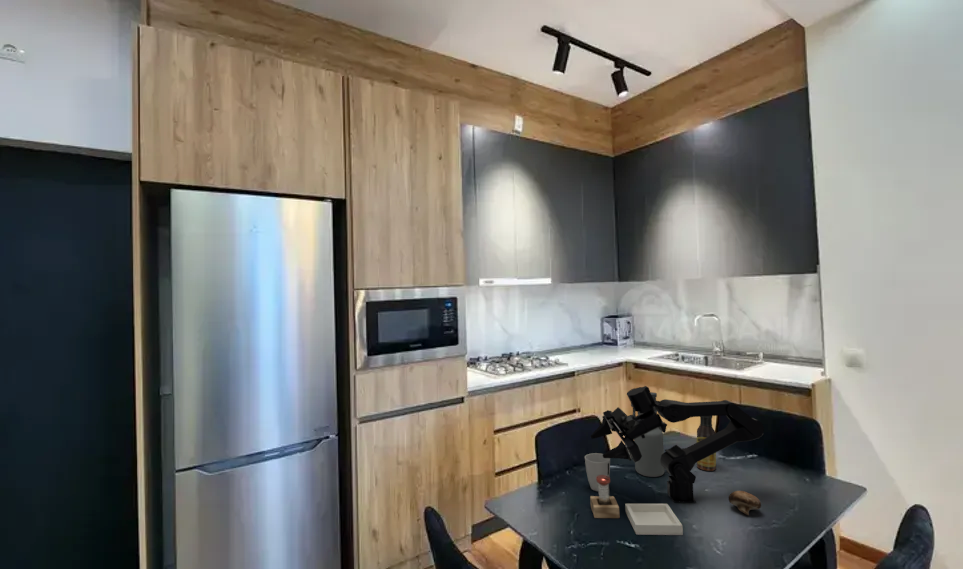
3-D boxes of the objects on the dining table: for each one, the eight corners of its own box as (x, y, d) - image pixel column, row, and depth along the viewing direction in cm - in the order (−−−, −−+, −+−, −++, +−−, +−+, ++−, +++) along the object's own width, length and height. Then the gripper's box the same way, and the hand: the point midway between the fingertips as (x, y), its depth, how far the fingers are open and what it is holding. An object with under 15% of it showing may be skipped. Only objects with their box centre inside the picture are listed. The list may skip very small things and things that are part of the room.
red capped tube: (610, 508, 132) (608, 475, 132) (613, 515, 128) (611, 480, 128) (596, 508, 132) (595, 475, 132) (599, 515, 128) (597, 480, 128)
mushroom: (747, 510, 121) (746, 487, 125) (722, 510, 128) (721, 488, 131) (768, 520, 123) (766, 496, 126) (742, 519, 130) (741, 497, 133)
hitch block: (614, 506, 133) (613, 496, 133) (619, 518, 126) (619, 507, 126) (590, 506, 134) (590, 496, 134) (594, 517, 127) (594, 507, 127)
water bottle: (633, 475, 154) (629, 395, 155) (635, 465, 163) (631, 389, 164) (664, 479, 150) (661, 397, 151) (664, 468, 159) (661, 390, 160)
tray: (667, 512, 128) (667, 503, 128) (682, 535, 116) (682, 525, 116) (625, 512, 129) (625, 503, 129) (636, 534, 117) (635, 525, 117)
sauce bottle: (695, 470, 157) (693, 414, 158) (697, 463, 162) (695, 409, 163) (716, 473, 154) (713, 416, 154) (717, 467, 159) (715, 411, 159)
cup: (612, 494, 141) (611, 462, 141) (586, 492, 143) (585, 461, 143) (610, 483, 149) (608, 453, 149) (585, 482, 150) (584, 452, 151)
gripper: (620, 388, 143) (577, 410, 143) (650, 423, 126) (601, 447, 125) (630, 414, 147) (588, 435, 147) (660, 451, 129) (613, 474, 129)
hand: (596, 446), depth 137 cm, fingers open, 9 cm apart
